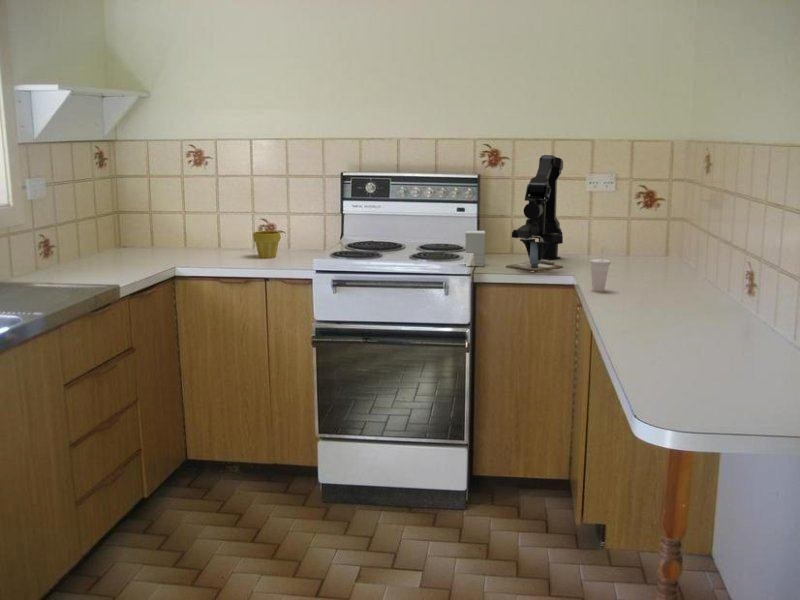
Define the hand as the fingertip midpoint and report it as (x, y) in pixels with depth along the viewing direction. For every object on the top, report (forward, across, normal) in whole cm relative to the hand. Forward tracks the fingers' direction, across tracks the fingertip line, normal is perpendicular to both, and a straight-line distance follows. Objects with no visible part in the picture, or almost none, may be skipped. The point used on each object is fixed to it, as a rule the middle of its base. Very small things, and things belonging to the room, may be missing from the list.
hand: (535, 259), depth 303 cm
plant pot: (+4, -85, -59) cm, 104 cm away
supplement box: (+4, -21, -9) cm, 23 cm away
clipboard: (+4, -3, +4) cm, 7 cm away
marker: (+3, 0, 0) cm, 3 cm away
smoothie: (+4, +38, -15) cm, 41 cm away
